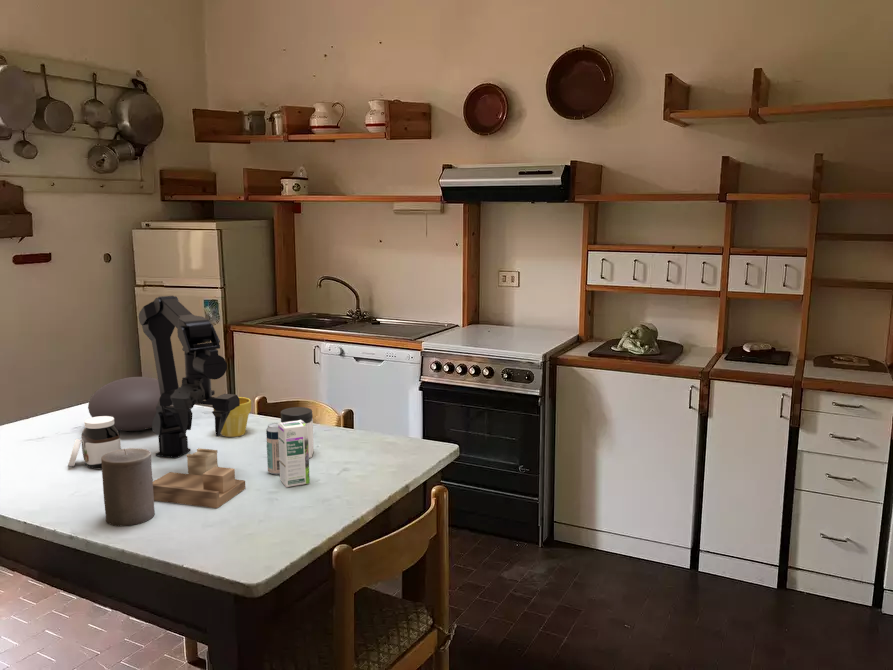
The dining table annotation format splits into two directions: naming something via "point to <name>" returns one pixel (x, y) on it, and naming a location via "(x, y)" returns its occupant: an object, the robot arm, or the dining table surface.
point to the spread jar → (96, 441)
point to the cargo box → (219, 479)
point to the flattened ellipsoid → (127, 402)
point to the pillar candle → (128, 486)
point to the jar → (305, 416)
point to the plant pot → (237, 419)
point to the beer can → (273, 449)
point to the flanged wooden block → (201, 461)
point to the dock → (191, 490)
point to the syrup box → (293, 453)
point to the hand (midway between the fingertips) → (201, 434)
